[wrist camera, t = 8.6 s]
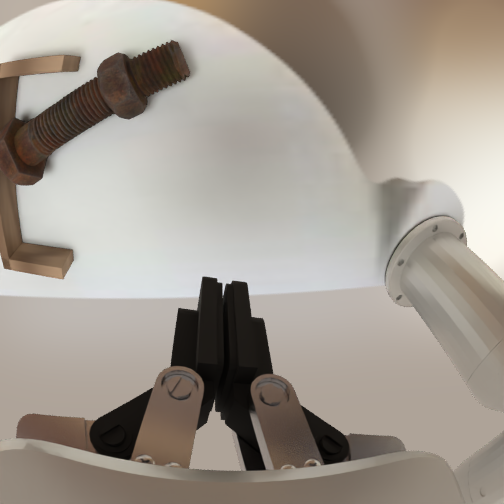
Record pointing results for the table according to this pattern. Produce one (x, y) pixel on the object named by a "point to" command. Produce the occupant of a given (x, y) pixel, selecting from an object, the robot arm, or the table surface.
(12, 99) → the bracket
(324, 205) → the table surface
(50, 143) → the bolt
